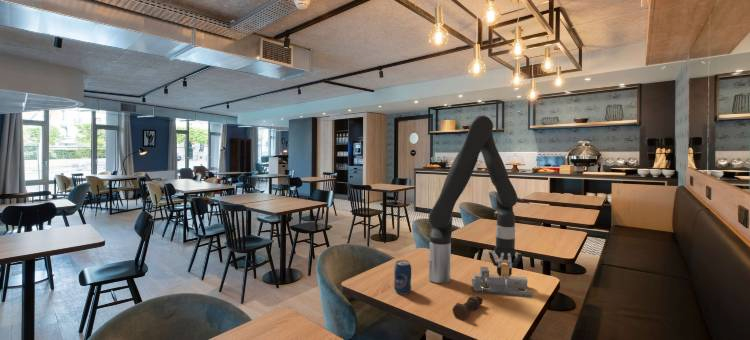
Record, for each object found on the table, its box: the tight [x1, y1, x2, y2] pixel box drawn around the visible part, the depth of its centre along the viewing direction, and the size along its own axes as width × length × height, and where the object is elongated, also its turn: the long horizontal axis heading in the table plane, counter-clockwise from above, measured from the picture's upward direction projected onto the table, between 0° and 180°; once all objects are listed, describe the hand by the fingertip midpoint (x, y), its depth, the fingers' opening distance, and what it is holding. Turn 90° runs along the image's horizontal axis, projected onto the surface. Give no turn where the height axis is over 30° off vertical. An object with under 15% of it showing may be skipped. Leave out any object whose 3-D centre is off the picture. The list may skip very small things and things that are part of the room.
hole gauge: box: [471, 266, 533, 298], centre depth 142 cm, size 22×12×7 cm, turn 80°
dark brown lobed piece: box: [452, 295, 484, 321], centre depth 123 cm, size 6×5×15 cm
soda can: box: [393, 260, 412, 295], centre depth 139 cm, size 7×7×12 cm
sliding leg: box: [501, 262, 509, 287], centre depth 143 cm, size 3×8×7 cm, turn 169°
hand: (504, 275), depth 144 cm, fingers closed on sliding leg, 3 cm apart
